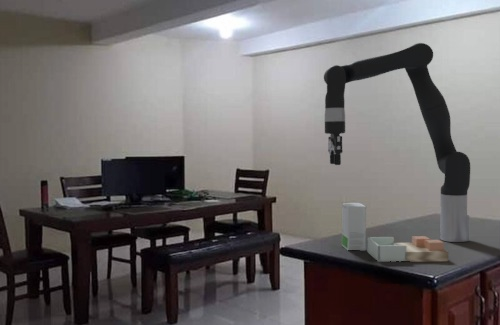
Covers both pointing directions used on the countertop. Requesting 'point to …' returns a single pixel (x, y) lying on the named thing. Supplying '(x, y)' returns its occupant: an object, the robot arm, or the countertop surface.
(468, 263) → the countertop surface
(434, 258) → the board
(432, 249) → the tile
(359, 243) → the skincare box
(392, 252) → the box
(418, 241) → the tile
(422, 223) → the countertop surface
